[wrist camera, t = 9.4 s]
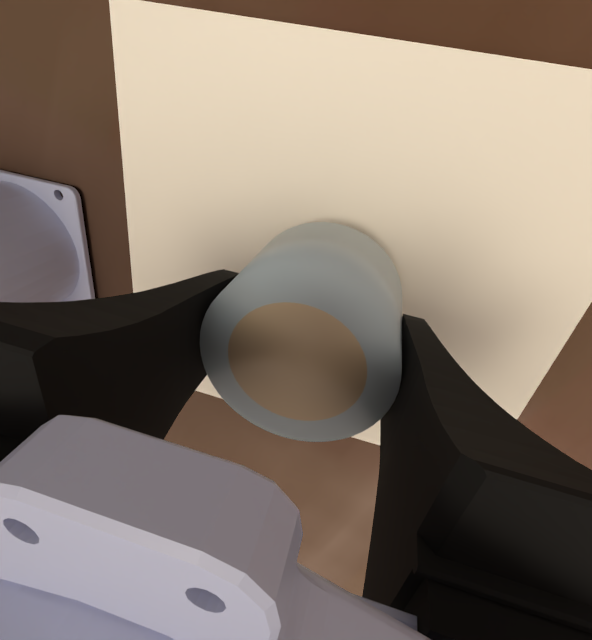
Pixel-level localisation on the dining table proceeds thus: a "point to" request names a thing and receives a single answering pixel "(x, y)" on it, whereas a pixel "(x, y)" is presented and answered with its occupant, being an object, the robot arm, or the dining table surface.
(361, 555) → the dining table surface
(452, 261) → the lid
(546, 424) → the dining table surface
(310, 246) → the white cylinder
